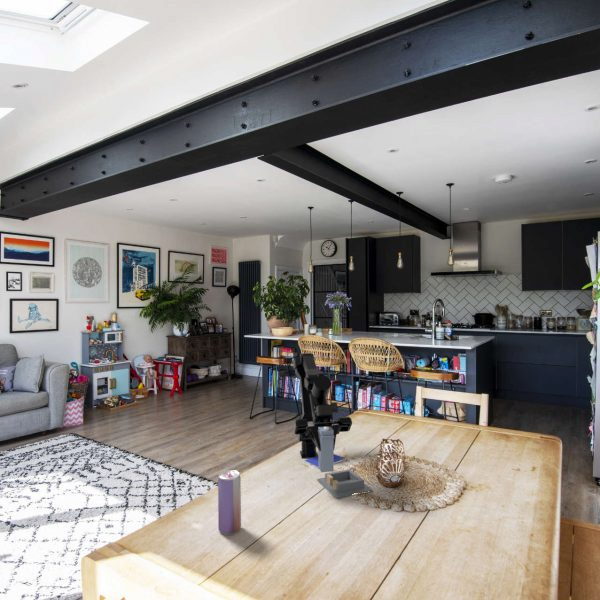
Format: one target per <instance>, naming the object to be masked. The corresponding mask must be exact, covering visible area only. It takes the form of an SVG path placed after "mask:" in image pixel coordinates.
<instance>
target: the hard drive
mask: <svg viewBox="0 0 600 600" xmlns="http://www.w3.org/2000/svg"><path fill="white" fill-rule="evenodd" d="M343 461H344V458H343V457H342V456H340V455H337V454H335V453H334V465H335V464H337V463H341V462H343ZM303 462H304V463H306V464H307V465H309V466H312V467H314V469H317V470H320V469H319V467H318V456H316V457H312V458H307V459H304V461H303Z"/></svg>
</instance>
